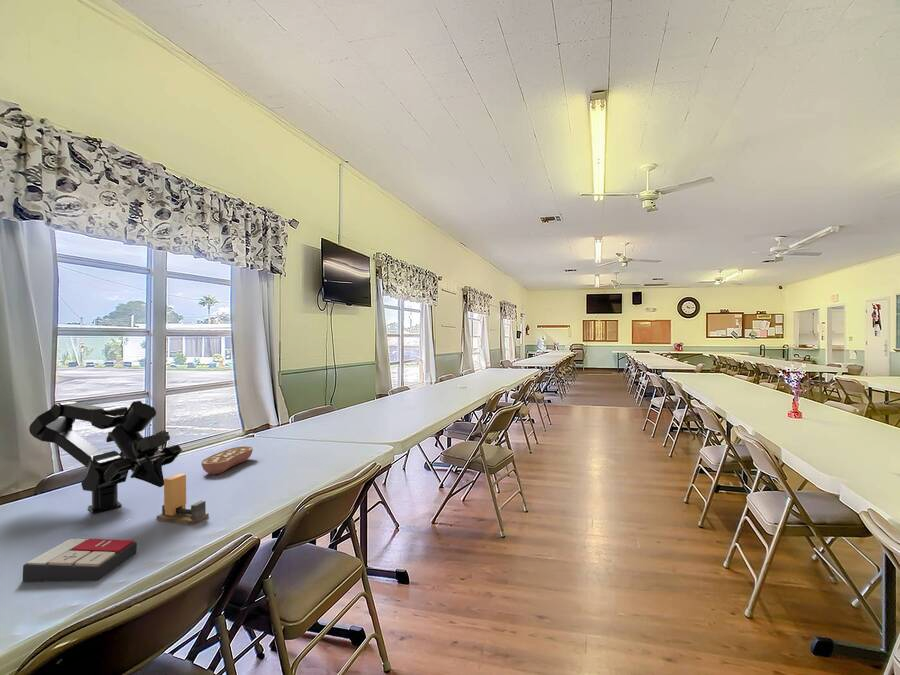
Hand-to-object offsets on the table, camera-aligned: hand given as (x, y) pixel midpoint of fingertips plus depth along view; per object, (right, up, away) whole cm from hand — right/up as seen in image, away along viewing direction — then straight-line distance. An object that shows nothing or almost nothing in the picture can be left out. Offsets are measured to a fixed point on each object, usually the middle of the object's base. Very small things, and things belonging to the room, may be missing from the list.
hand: (162, 485), depth 115 cm
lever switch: (+6, -8, -2) cm, 10 cm away
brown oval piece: (-5, -8, +43) cm, 44 cm away
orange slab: (+4, -7, -1) cm, 8 cm away
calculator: (0, -9, -25) cm, 27 cm away
